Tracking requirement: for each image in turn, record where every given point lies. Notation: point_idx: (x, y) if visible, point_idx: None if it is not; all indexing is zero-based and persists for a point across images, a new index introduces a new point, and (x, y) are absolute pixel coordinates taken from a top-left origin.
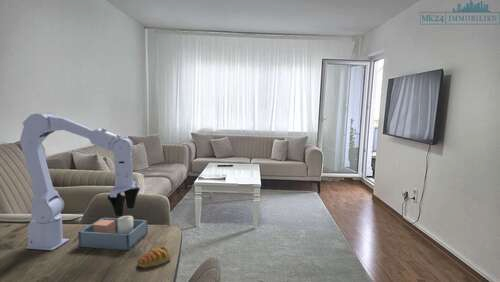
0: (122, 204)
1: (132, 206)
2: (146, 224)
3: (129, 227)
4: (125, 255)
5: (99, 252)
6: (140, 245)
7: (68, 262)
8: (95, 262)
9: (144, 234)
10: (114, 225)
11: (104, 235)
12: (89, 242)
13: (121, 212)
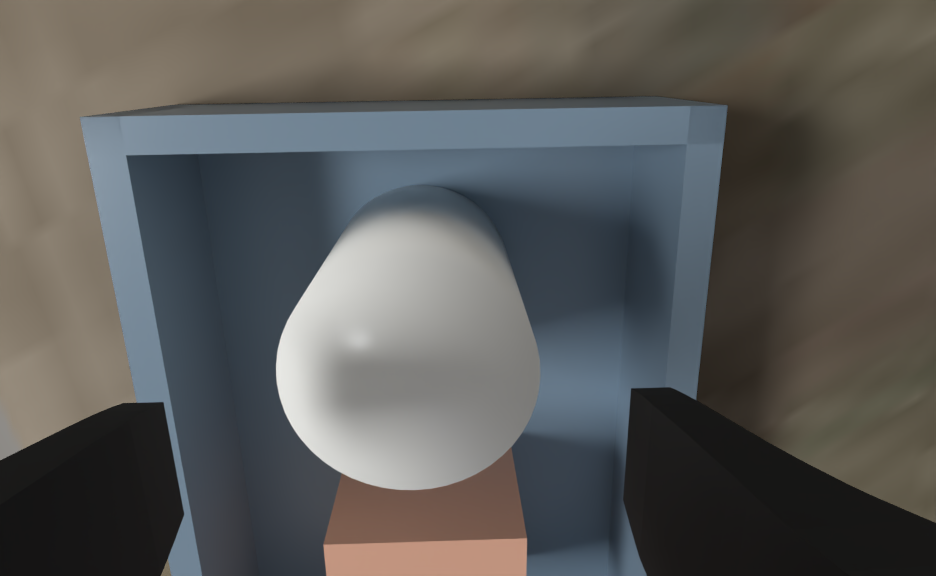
0: (892, 520)
1: (143, 432)
2: (144, 112)
3: (470, 235)
4: (775, 69)
5: (718, 363)
6: (521, 21)
7: (901, 492)
8: (914, 283)
9: (259, 104)
10: (348, 498)
11: None
12: None
13: (718, 418)
